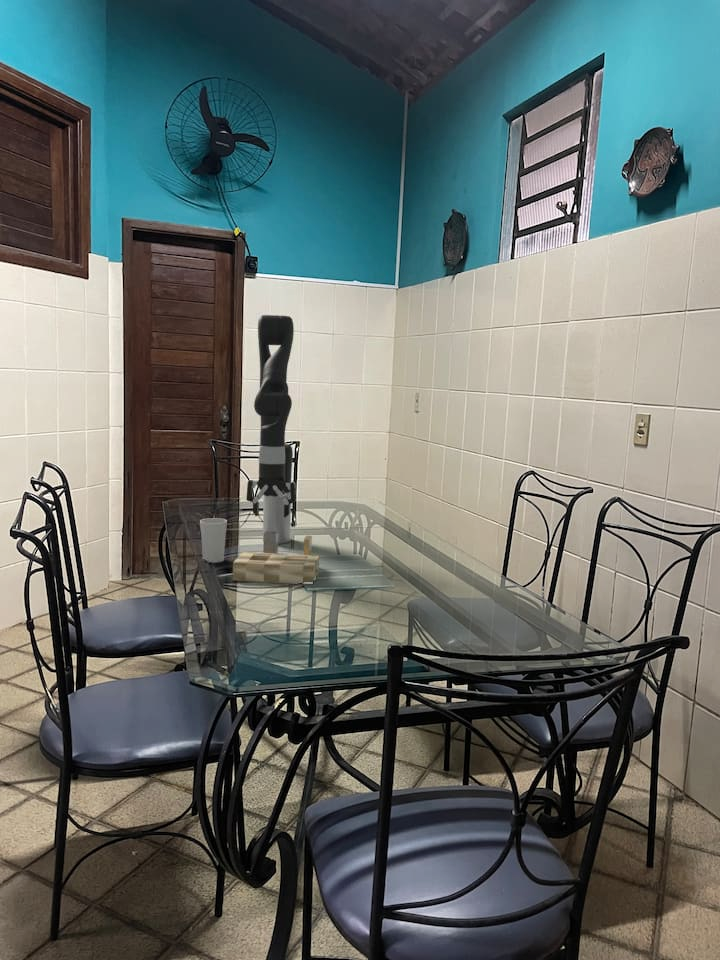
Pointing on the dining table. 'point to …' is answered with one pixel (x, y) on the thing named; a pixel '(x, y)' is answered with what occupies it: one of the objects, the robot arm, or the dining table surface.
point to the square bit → (270, 542)
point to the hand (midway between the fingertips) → (271, 516)
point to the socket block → (275, 567)
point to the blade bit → (308, 545)
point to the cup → (213, 539)
